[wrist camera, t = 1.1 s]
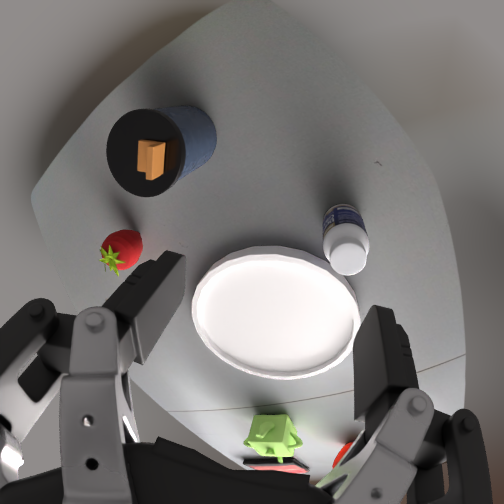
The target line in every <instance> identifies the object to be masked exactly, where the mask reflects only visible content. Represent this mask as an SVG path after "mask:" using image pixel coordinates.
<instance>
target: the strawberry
mask: <svg viewBox="0 0 504 504" xmlns="http://www.w3.org/2000/svg"><path fill="white" fill-rule="evenodd" d="M142 249H143V244H142V238H141V236H140V233H139V232H137V231H134V230H120V231H117V232H114V233H112V234H110V235H109V236H108V237H107V238H106V239H105V241H104V242H103V244H102V247H101V250H100V249H99V250H100V251H101V254H102V258H103V259H101V260H99V261H101V262H104V263H106V264H107V265H108V266H109V267H110V271H111V270H112V268H113V270H114V271H115V273H116V274H117V276H119V275H118V270H125V269H128V268H130V267H131V266H133V265H134V264H135V263H136V262H137V261H138V259H139V257H140V255H141V252H142ZM105 272H106V267H105Z"/></svg>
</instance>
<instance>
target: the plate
mask: <svg viewBox="0 0 504 504" xmlns="http://www.w3.org/2000/svg"><path fill="white" fill-rule="evenodd" d="M192 318H193V321H194V324H195V327H196V330H197V332H198V334H199V335H200V337H201V338H202V340H203V341H204V343H205V344H206V346H207V347H208V348H209V349H210V350H211V351H213V352H214V353H215V354H216V355H217V356H218V357H219V358H220V359H222V360H223V361H225V362H227V363H228V364H230V365H232V366H233V367H235V368H237V369H239V370H242V371H244V372H247V373H249V374H252V375H256V376H260V377H265V378H270V379H286V380H291V379H299V378H307V377H310V376H314V375H317V374H320V373H323V372H325V371H327V370H329V369H330V368H332V367H334V366H335V365H337V364H339V363H340V362H341V361H342V360H343V359H344V358H345V357H346V356H347V355H348V354H349V353H350V352H351V351H352V349H353V342H354V339H355V336H356V333H357V331H358V330H359V328H360V321H361V320H360V312H359V307H358V303H357V299H356V295H355V292H354V291H353V289H352V288H351V286H350V285H349V283H348V282H347V280H346V278H345V277H344V276H343V275H342V274H339V273H337V272H336V271H335V270H334V269H333V268H332V266H331V265H330V264H329V263H328V262H327V261H325V260H322V259H320V258H318V257H316V256H314V255H312V254H310V253H308V252H305V251H303V250H298V249H293V248H288V247H283V246H253V247H249V248H246V249H242V250H239V251H235V252H232V253H230V254H228V255H227V256H225V257H224V258H222V259H220V260H219V261H217V262H216V263H214V264H213V265H212V266H211V268H210V269H209V270H208V271H207V272H206V274H205V275H204V276H203V277H202V279H201V281H200V282H199V284H198V285H197V288H196V291H195V294H194V297H193V300H192Z"/></svg>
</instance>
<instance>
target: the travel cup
mask: <svg viewBox="0 0 504 504" xmlns="http://www.w3.org/2000/svg"><path fill="white" fill-rule="evenodd" d="M139 140H149V141H157V142H165V154H164V169H163V174H161V175H160V176H158V177H157V178H155V179H153V180H147V179H146V172H141V171H137V165H138V143H139ZM216 140H217V137H216V130H215V127H214V124H213V122H212V120H211V119H210V117H209V116H208V115H207V114H206V113H205V112H203V111H202V110H200V109H198V108H196V107H193V106H176V107H167V108H158V109H138V110H133V111H130V112H128V113H126V114H125V115H123V116H122V117H121V118H120V119H119V120H118V121H117V122H116V123H115V124H114V126H113V128H112V129H111V131H110V134H109V137H108V140H107V148H106V154H107V161H108V165H109V168H110V171H111V173H112V175H113V177H114V178H115V180H116V181H117V182H118V183H119V185H120V186H121V187H122V188H124V189H125V190H126V191H128V192H130V193H132V194H134V195H137V196H141V197H153V196H157V195H159V194H162V193H163V192H165V191H166V190H168V189H169V188H171V187H172V186H173V185H174V184H175V183H176V182H177V181H178V180H180V179H181V178H183V177H184V176H186V175H187V174H189V173H191V172H192V171H194V170H195V169H197V168H199V167H200V166H202V165H203V164H205V163H206V162H207V161H208V160H209V159H210V157H211V156H212V154H213V152H214V150H215V147H216Z"/></svg>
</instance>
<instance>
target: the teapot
mask: <svg viewBox="0 0 504 504" xmlns="http://www.w3.org/2000/svg"><path fill="white" fill-rule="evenodd" d="M295 442H296V444H295ZM302 444H303V443H302V440H301V439H300V438H299V437H298V436H297V431H296V429H295V427H294V425H293V424H292V422H291V420H290V418H289V417H288V415H285V414H281V415H254V417H253V421H252V425H251V429H250V433H249V436H248V438H247V439H246V440H245V441H244V445H245V446H247V447H251V448H254V449H255V450H256V451H257V452H258V453H259V454H260V455H261V456H274V457H277V459H278V462H280V463H283V457H293V455H294V449H295V448H298V447H301V446H302Z"/></svg>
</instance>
